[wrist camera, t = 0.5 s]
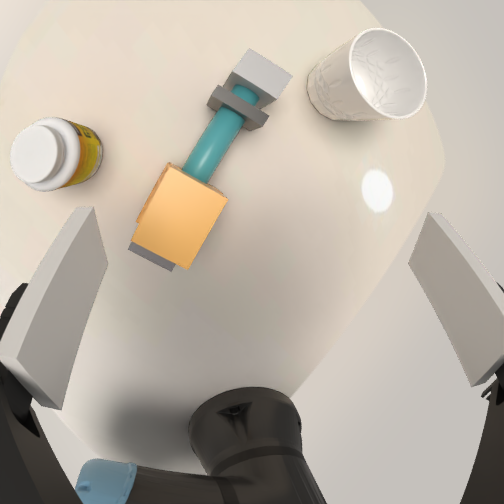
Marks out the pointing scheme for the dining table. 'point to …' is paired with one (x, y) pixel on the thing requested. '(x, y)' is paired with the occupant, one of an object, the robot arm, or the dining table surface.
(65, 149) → the supplement bottle
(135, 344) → the dining table surface
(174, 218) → the sleeve
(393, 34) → the white cup
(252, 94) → the teal axle dumbbell
